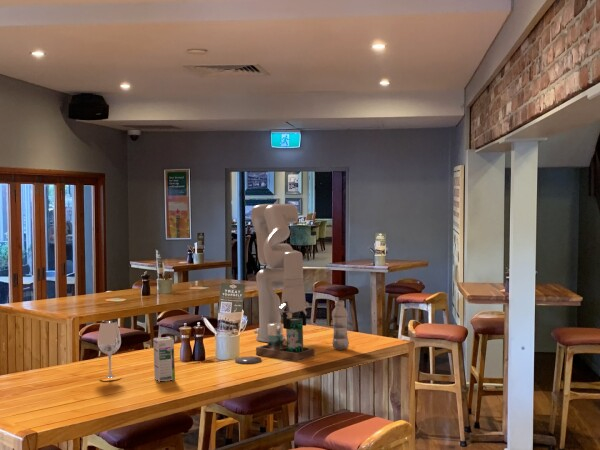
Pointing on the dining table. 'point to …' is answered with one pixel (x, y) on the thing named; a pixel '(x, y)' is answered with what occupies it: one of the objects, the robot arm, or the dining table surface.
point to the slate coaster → (248, 360)
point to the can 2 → (295, 335)
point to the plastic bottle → (340, 326)
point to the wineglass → (109, 340)
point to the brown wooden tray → (285, 353)
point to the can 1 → (275, 336)
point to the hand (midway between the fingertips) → (294, 327)
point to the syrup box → (164, 359)
